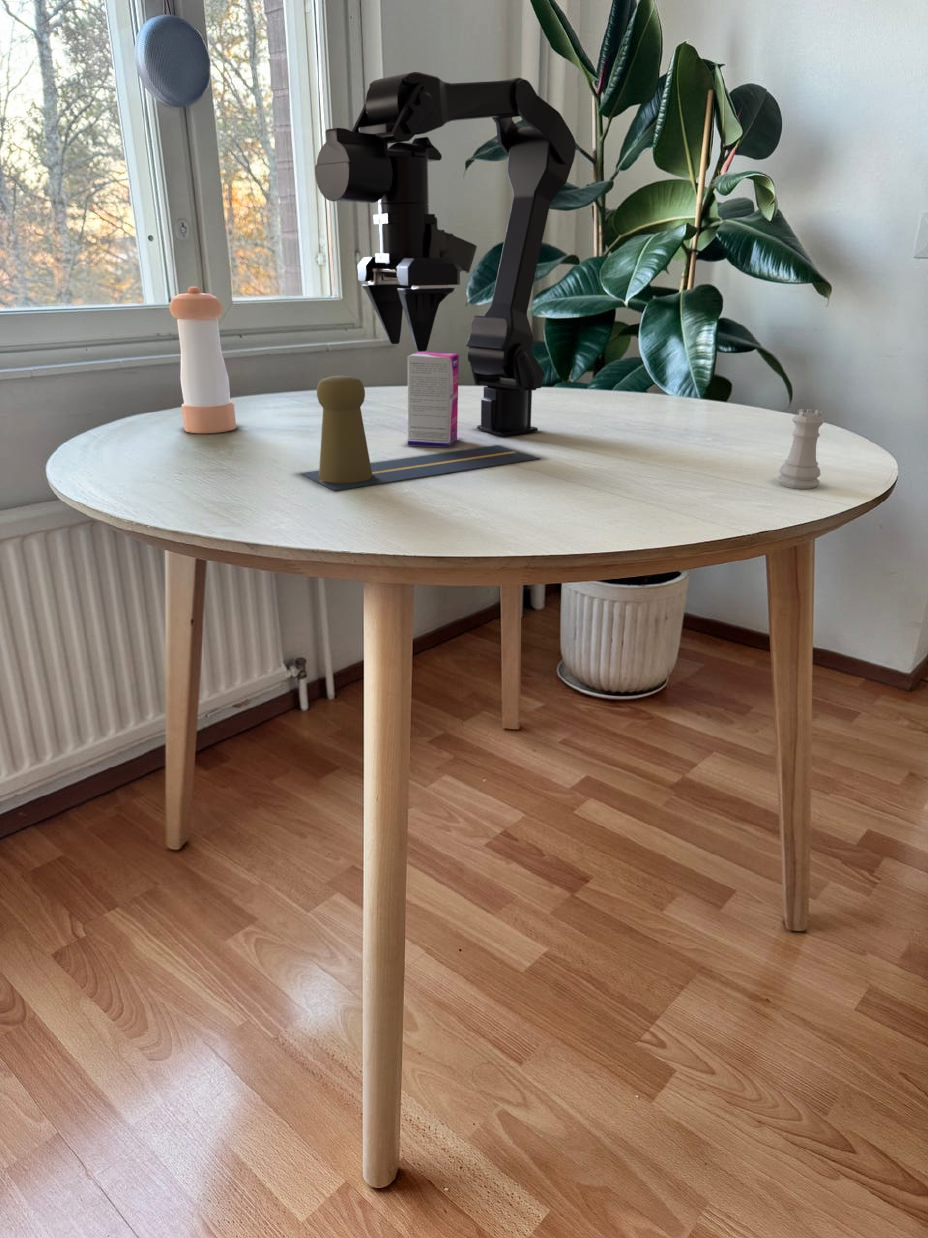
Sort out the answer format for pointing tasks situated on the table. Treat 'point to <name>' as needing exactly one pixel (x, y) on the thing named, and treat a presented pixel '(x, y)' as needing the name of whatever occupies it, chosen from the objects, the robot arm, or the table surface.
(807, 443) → the rook chess piece
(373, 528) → the table surface
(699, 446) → the table surface
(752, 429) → the table surface
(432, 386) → the supplement box
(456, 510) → the table surface
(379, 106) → the robot arm
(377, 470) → the line mat
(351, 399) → the cork
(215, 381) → the salt shaker
